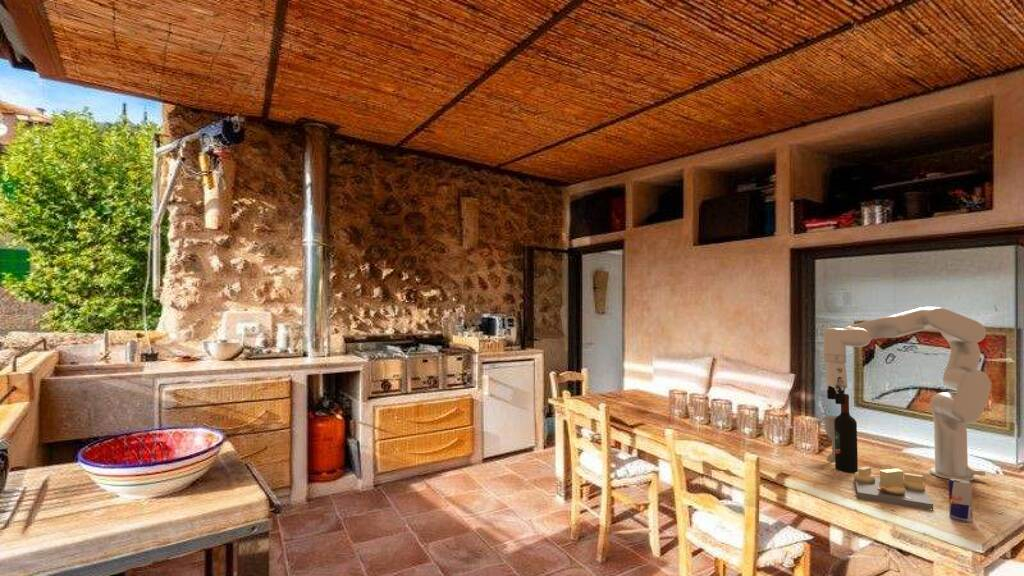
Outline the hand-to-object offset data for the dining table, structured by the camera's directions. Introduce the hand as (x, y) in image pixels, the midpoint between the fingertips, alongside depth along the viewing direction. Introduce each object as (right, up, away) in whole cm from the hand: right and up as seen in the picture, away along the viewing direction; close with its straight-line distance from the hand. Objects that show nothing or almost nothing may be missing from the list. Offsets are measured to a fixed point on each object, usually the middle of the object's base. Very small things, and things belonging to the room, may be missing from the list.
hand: (836, 401), depth 200 cm
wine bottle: (+4, -27, -1) cm, 28 cm away
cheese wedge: (-1, -24, -30) cm, 38 cm away
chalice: (+6, -28, +11) cm, 31 cm away
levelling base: (+2, -26, -26) cm, 37 cm away
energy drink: (+8, -26, -46) cm, 54 cm away
